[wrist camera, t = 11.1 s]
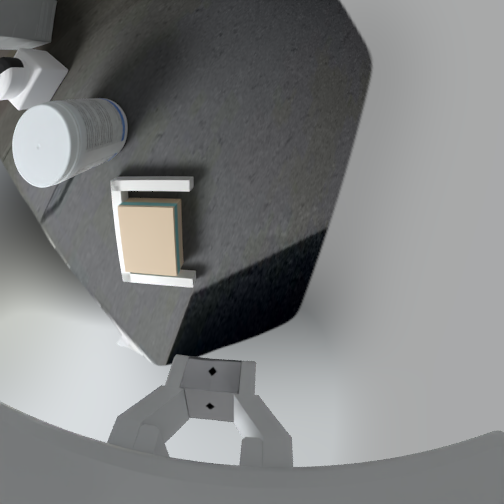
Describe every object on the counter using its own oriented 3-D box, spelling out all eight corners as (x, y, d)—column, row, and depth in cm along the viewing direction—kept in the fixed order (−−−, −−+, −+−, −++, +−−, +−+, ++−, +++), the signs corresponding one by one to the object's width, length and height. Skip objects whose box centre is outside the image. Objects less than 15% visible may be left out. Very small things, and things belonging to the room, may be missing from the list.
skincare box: (31, 10, 28) (-32, -2, 14) (62, -1, 28) (-1, -22, 14) (24, 53, 32) (-44, 51, 17) (54, 44, 32) (-15, 35, 17)
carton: (129, 196, 43) (117, 206, 39) (181, 198, 43) (173, 207, 39) (135, 258, 47) (125, 272, 43) (184, 262, 47) (177, 276, 43)
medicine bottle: (25, 86, 34) (-26, 90, 24) (46, 50, 32) (-4, 44, 21) (46, 108, 36) (-5, 115, 25) (70, 70, 34) (18, 66, 23)
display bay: (118, 176, 41) (110, 180, 39) (193, 176, 41) (189, 180, 39) (128, 273, 48) (123, 281, 46) (196, 279, 48) (193, 287, 46)
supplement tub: (89, 90, 35) (24, 90, 22) (141, 111, 37) (84, 116, 24) (68, 148, 39) (3, 170, 26) (115, 173, 41) (58, 203, 28)
